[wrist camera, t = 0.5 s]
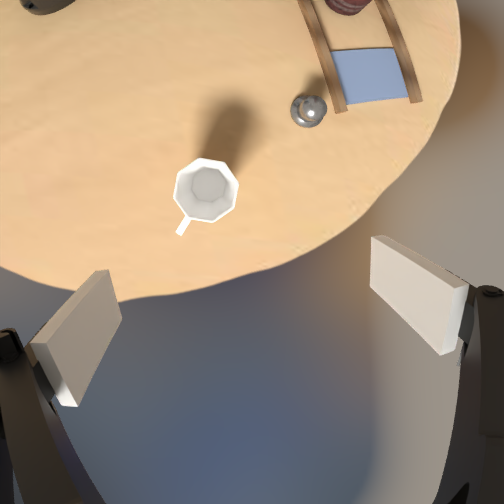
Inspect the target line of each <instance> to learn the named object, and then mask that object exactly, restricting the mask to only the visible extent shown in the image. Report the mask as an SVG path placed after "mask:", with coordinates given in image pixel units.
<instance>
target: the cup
mask: <svg viewBox="0 0 504 504" xmlns="http://www.w3.org/2000/svg"><path fill="white" fill-rule="evenodd" d="M238 187H239V182H238V181H237V179H236V178H235V177H234V175H233V174H232V172H231V171H230V169H229V168H228V166H227V165H226V163H225V162H222V161H216V160H210V159H204V158H197V159H196V160H195V161H193V162H192V163H190V164H189V165H187V166H186V167H185V168H183V169H182V170H180V171H179V172H178V173H177V178H176V184H175V190H174V196H173V198H174V200H175V201H176V203H177V204H178V205H179V207H180V208H181V210H182V211H183V212H184V214H185V215H186V216H185V217H184V219H183V221H182V222H181V224H180V226H179V227H178V229H177V230H176V233H178V234H179V235H182V233H183V232H184V230H185V229H186V227H187V226H188V224H189V222H190V221H191V219H193V220H199V221H205V222H211V223H214V222H215V221H216V220H218V219H219V218H221V217H222V216H224V215H225V214H227V213H228V212H230V211H231V210H233V209H234V207H235V202H236V197H237V192H238Z"/></svg>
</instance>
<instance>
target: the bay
mask: <svg viewBox="0 0 504 504" xmlns="http://www.w3.org/2000/svg"><path fill="white" fill-rule="evenodd" d="M297 1H298V3H299V6H300V8H301V11H302V13H303V16H304V19H305V21H306V24H307V26H308V29H309V32H310V34H311V37H312V40H313V43H314V46H315V48H316V51H317V54H318V57H319V60H320V63H321V66H322V69H323V72H324V76H325V79H326V82H327V85H328V89H329V92H330V95H331V99H332V102H333V106H334V109H335V113H336V114H337V113H343V112H346V111H348V109H347V106H346V102H345V99H344V95H343V92H342V88H341V85H340V82H339V79H338V75H337V72H336V69H335V66H334V63H333V60H332V57H331V54H330V51H329V48H328V46H327V43H326V40H325V37H324V35H323V32H322V29H321V27H320V24H319V21H318V19H317V16H316V14H315V11H314V9H313V6H312V4H311V2H310V0H297ZM375 2H376V4H377V7H378V9H379V11H380V14H381V16H382V19H383V21H384V23H385V26H386V28H387V31H388V34H389V36H390V39H391V42H392V44H393V47H394V50H395V53H396V56H397V59H398V62H399V65H400V68H401V71H402V74H403V78H404V81H405V84H406V88H407V91H408V95H409V99H410V103H417V102H422V101H423V100H422V96H421V92H420V89H419V85H418V82H417V78H416V75H415V72H414V69H413V65H412V62H411V59H410V56H409V53H408V51H407V48H406V45H405V42H404V39H403V37H402V34H401V31H400V29H399V26H398V24H397V21H396V19H395V17H394V14H393V12H392V10H391V7H390V5H389V3H388V0H375Z"/></svg>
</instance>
